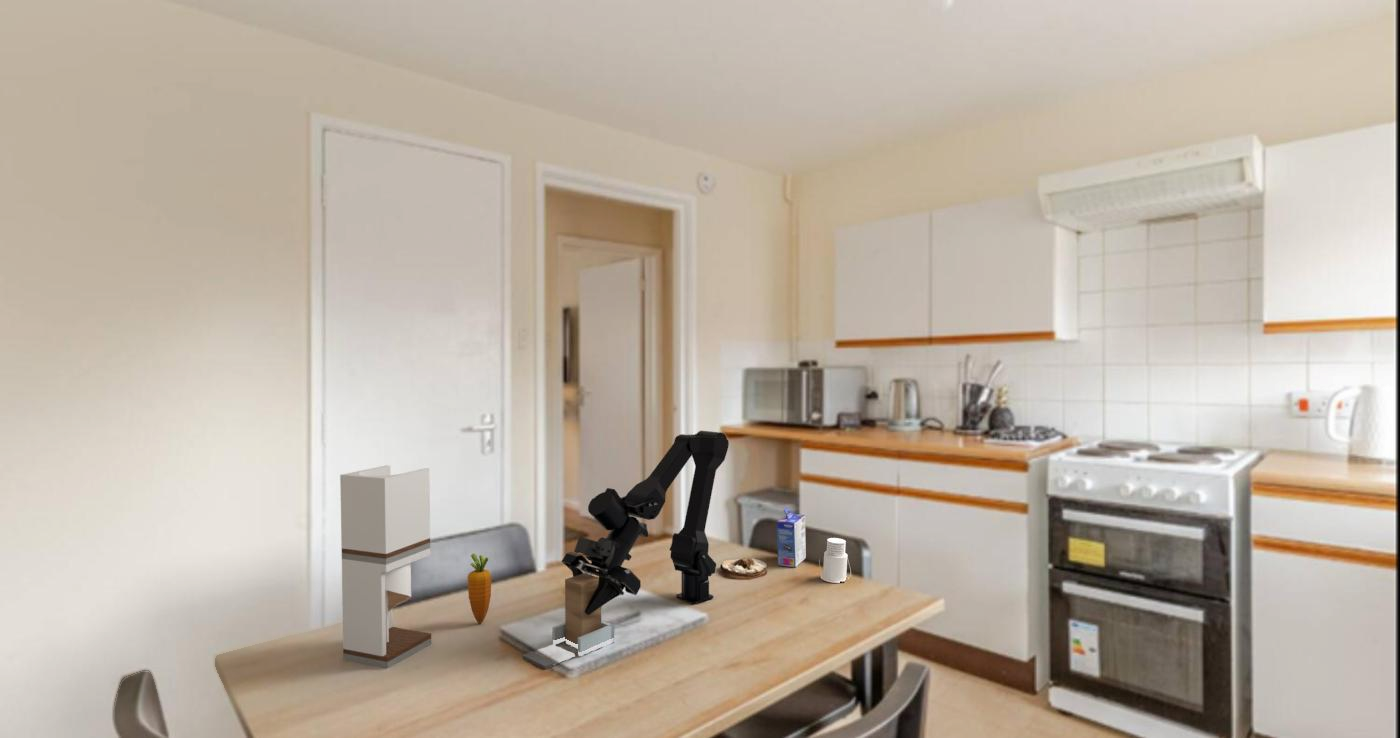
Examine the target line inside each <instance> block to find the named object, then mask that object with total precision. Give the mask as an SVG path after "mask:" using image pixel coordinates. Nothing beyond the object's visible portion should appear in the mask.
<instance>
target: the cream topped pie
mask: <svg viewBox="0 0 1400 738" xmlns="http://www.w3.org/2000/svg"><path fill="white" fill-rule="evenodd" d="M768 566H769V565H768V564H767V563H766V562H764V561H763V560H760V559H758V558H751V557H744V558H743V557H742V558H729V559H725V560H723V561H722V562H721V564H720V567H719V569H720V571H721V572H719V573H722V574H723V575H722V577H727V578H729V579H734V580H735V579H737V580H752V579H758V578H762V577H764V576H765V577H766V575H767V573H768V568H769V567H768Z"/></svg>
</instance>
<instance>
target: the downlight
mask: <svg viewBox="0 0 1400 738" xmlns="http://www.w3.org/2000/svg"><path fill="white" fill-rule="evenodd" d="M846 542H847V541H846V540H845V539H843V538H838V537H830V538H827V541H826V551H824V553H823V570H822V568H821V564H820V561H821V559H819V561H818V563H819V564H818V565H819V569H820V572H821V574H820V579H821V580H822V581H825V582H828V583H831V584H832V583H834V584H841V583H840V581H845V580H846V577H847V574H848V573H847V572H848V571H847V569H848V567H851V566H850V565H851V564H848V563H850V562H849V558H848V553H846V544H847V543H846ZM848 565H849V566H848ZM849 570H850V571H852V569H851V568H849ZM851 576H852V572H850V577H851Z"/></svg>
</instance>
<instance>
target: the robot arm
mask: <svg viewBox="0 0 1400 738" xmlns="http://www.w3.org/2000/svg"><path fill="white" fill-rule="evenodd" d="M729 445H730V443H729V439H728V438H727V435H726V434H725V433H723V432H721V431H710V430H709V431H708V430H700V431H698V432H697V433H695V434H679V435H677V436H675V438H674V442H673V444H672V445H671V447H669V449H668V450H667V451H666V453H665V454H664V456H663V457H662V459H660V461H659V462H658V464H657V465H656V466H655V468H654V470H652V471H651V473H650V474H649V475H648V477H647V478H646V479H644V480H642V481H640V482H639V483H636V484H635V485H634V486H633V487H632V488H631V489H630V490H629V491H628V492H627V493H626V495H625V496H621V497H620V495H619V493H618V491H616V489H614V488H610V487H607V488H606V489H605V490H604V491H603V492H600V493H599V494H597V495H596V496H595V497H593V498H591V500H590V502H589V504H588V507H587V511H588V513H589V514H590V515H591V516H592V517H593V518H594V519H595V520H596V522H597V523H599V525H600V526H601V527H602V528H603V529H604V530H606V531H609V533H608V534H607V535H606V537H600V538H599V539H598V540H597V541H596V540H594V539H589V538H585V537H582V536H578V539H577V542H576V544H575V547H574V550H573V551H570V552H567V553H565V555H564V557H563V558H562V559H561V563H563V565H565V567H567V568H568V569H569V570H570V571H571V572H572V577H574V576H577V575H580V574H584V573H586V574H589V575H592V576H595V577H598V578H599V584H598V588H597V589H596V591H595V593H594V595H593V597H592V598H591V600H590V602H589V604H588V606H587V608H586V610H585V613H586V614H587V615H590V614H591V613H593V612H594V611H595V610H597V609H598V608H600V607H601V608H602V607H603V606H604V605H606V604H607V603H609V602H610V601H612V600H614V599H615V598H617V597H619V596H624V594H625V592H626V593H628V594H629V595H630V594H631V595H634V596H637V594H638V593H639V591H640V589H641V588H642V587H641V586H642V584H641V583H642V582H641V579H639V577H638V576H636V574H635V573H634V572H633V571H632V570H631V569H629V568H627V567H623V564H624V562H625V561H630V560H631V558H632V557H633V556H632V555H631V554H630V552H631V551H632V549H633V547H634V545H635V544H636V542H637V541H638V539H639V537H644V538H645V537H646V538H648V537H649V531H648V528H647V526H648V525H647V523H644V522H640V520H639V519H643V520H650V521H651V520H654V519H656V518H657V517H658V516H659V514H660V512H661V511H662V509H663V507H664V505H665V503H666V497H667V492H668V489H669V488H670V487H671V485H672V484H673V482H674V481H675V480H676V478H677V477H678V475H679V474H680V472H681V471H682V470H683V469H684V467H685V466H686V463H688V462H689V460H690V458H691V457H692V459H693V462H694V465H695V466H694V474H693V478H692V483H691V488H690V493H689V498H688V504H687V509H686V514H685V519H684V523H683V526H682V528H681V530H680V531H679V532H678V533H676V532H674V533H673V535H672V539H671V545H670V547H669V552H670V559H671V561H672V563H673V567H674V570H675V571H677V572H678V571H679V572H681V576H680V577H681V592H680V593H677V594H676V595H675V597H676V598H678V599H680V600H682V601H685V602H687V603H690V605H691V604H692V605H694V604H698V603H702V602H705V601H708V600H711V599H714V595H713V594H710V580H709V577H711V576H712V575H713V574H715V573H716V569H717V563H716V562H715V561H714V559H713V558H712V557H711V556H710V555H709V549H710V547H709V544H710V543H709V541H708V538H707V535H706V525H707V520H708V516H709V515H708V514H709V509H710V504H711V499H712V493H713V488H714V484H715V478H716V473H717V470H718V469H719V468H720V466H721V465H722V464H723V463H724V462H725V460H726V456H727V453H728V450H729ZM637 518H639V519H637ZM623 590H625V592H624V591H623Z"/></svg>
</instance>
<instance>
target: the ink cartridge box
mask: <svg viewBox="0 0 1400 738" xmlns="http://www.w3.org/2000/svg"><path fill="white" fill-rule="evenodd" d="M783 512H784V514H785V515H784V516H783V517H781V518H780V519H779V520H777V521H776V535H777V538H776V539H777V541H776V542H777V565H778V566H780V567H781V566H783V567H790V568H796V567H798V566H799V565H800V564H801V563H802V562H803V561H804V560H805V559H806V558H807V557H806V556H807V554H806V553H807V552H806V550H807V549H806V545H807V544H806V516H805V514H798V513H792V512H791V510H790V508H789V507H786V508H785V509H784V510H783Z"/></svg>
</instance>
